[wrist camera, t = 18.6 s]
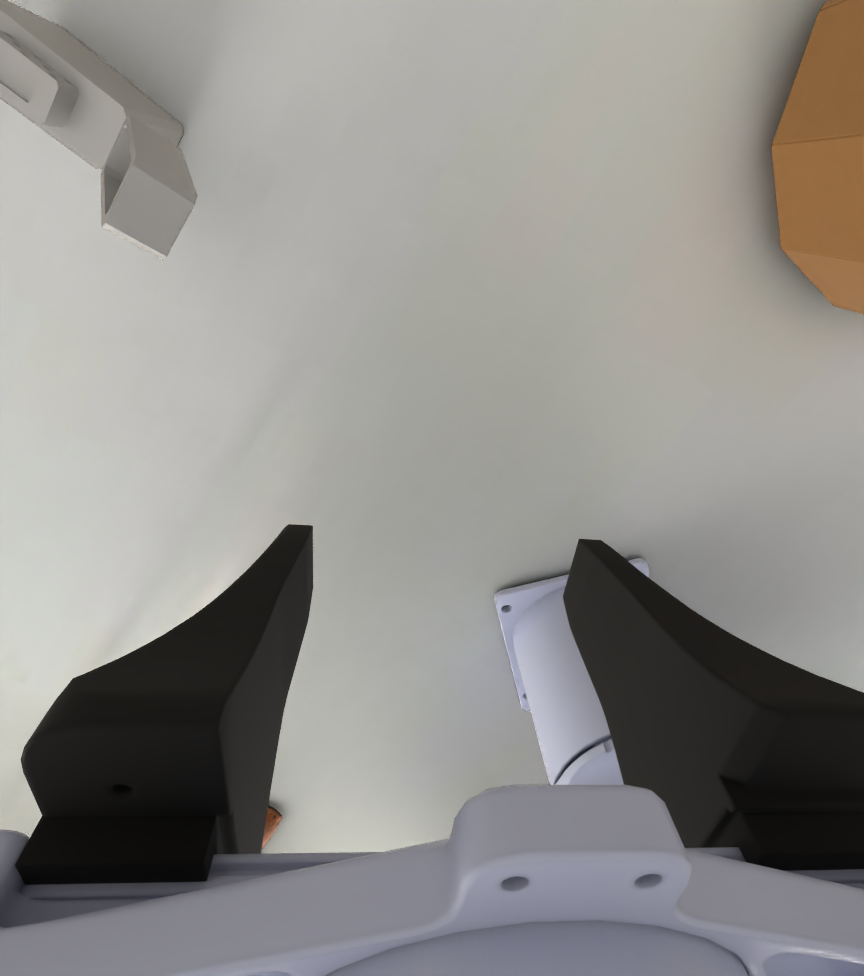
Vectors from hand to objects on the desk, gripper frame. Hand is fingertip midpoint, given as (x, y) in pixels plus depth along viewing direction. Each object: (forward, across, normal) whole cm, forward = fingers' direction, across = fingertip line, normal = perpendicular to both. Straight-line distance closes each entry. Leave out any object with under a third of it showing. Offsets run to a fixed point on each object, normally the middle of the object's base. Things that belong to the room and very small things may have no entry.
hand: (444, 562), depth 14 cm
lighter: (+10, +10, -9) cm, 17 cm away
